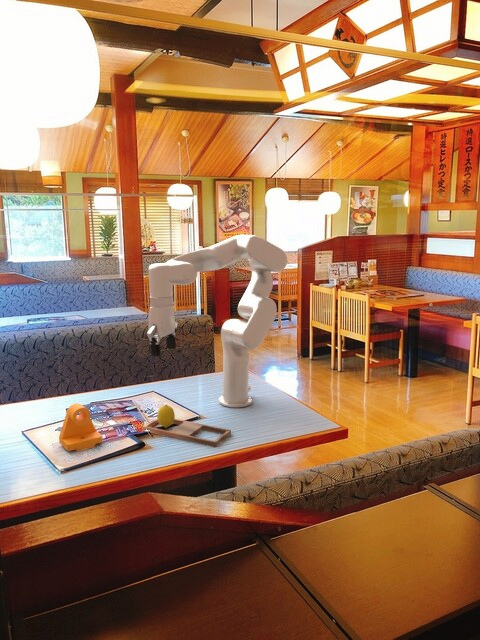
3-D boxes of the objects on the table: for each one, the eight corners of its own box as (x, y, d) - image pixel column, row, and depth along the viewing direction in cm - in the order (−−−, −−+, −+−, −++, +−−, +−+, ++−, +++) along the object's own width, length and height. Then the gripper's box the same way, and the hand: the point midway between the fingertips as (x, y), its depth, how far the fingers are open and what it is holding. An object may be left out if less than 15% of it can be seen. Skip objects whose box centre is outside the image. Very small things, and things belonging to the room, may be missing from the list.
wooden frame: (161, 420, 174) (160, 415, 174) (231, 434, 163) (231, 430, 162) (142, 431, 164) (142, 426, 164) (215, 447, 153) (215, 442, 153)
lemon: (171, 432, 164) (171, 408, 163) (155, 430, 165) (154, 406, 164) (177, 425, 169) (176, 402, 168) (161, 424, 170) (160, 401, 169)
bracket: (68, 453, 148) (66, 414, 146) (59, 445, 153) (57, 407, 151) (103, 444, 154) (101, 406, 152) (93, 436, 160) (92, 400, 158)
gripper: (165, 296, 176) (167, 345, 180) (136, 305, 160) (139, 357, 164) (184, 298, 173) (186, 346, 177) (157, 306, 158) (159, 360, 161)
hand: (163, 352), depth 170 cm, fingers open, 9 cm apart
